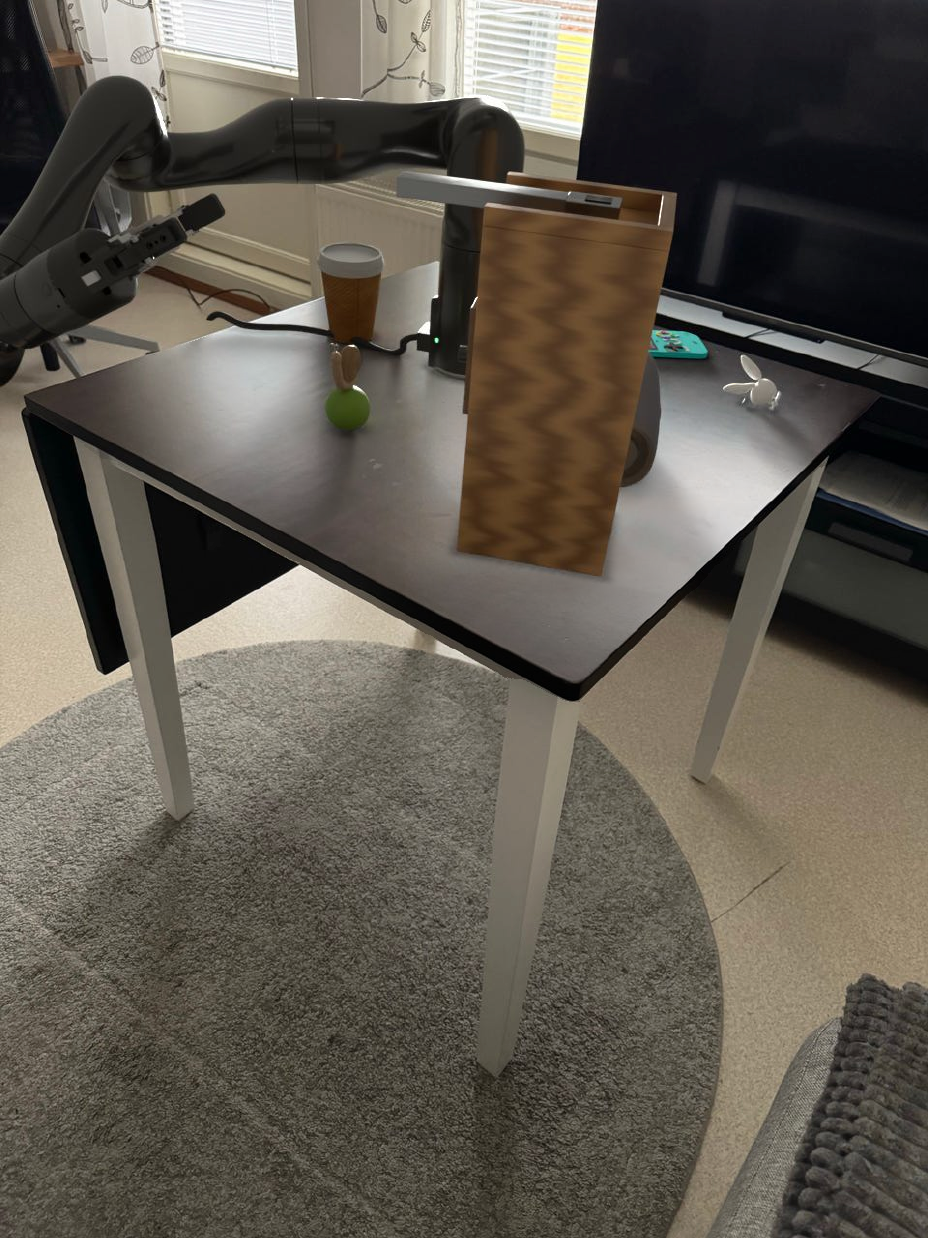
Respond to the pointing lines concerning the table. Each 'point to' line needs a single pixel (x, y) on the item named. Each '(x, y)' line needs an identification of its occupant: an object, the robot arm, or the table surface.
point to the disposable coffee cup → (351, 288)
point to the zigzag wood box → (557, 371)
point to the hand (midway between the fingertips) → (200, 215)
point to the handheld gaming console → (676, 345)
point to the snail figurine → (346, 391)
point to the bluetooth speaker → (644, 428)
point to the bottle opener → (503, 195)
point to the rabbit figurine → (755, 386)
